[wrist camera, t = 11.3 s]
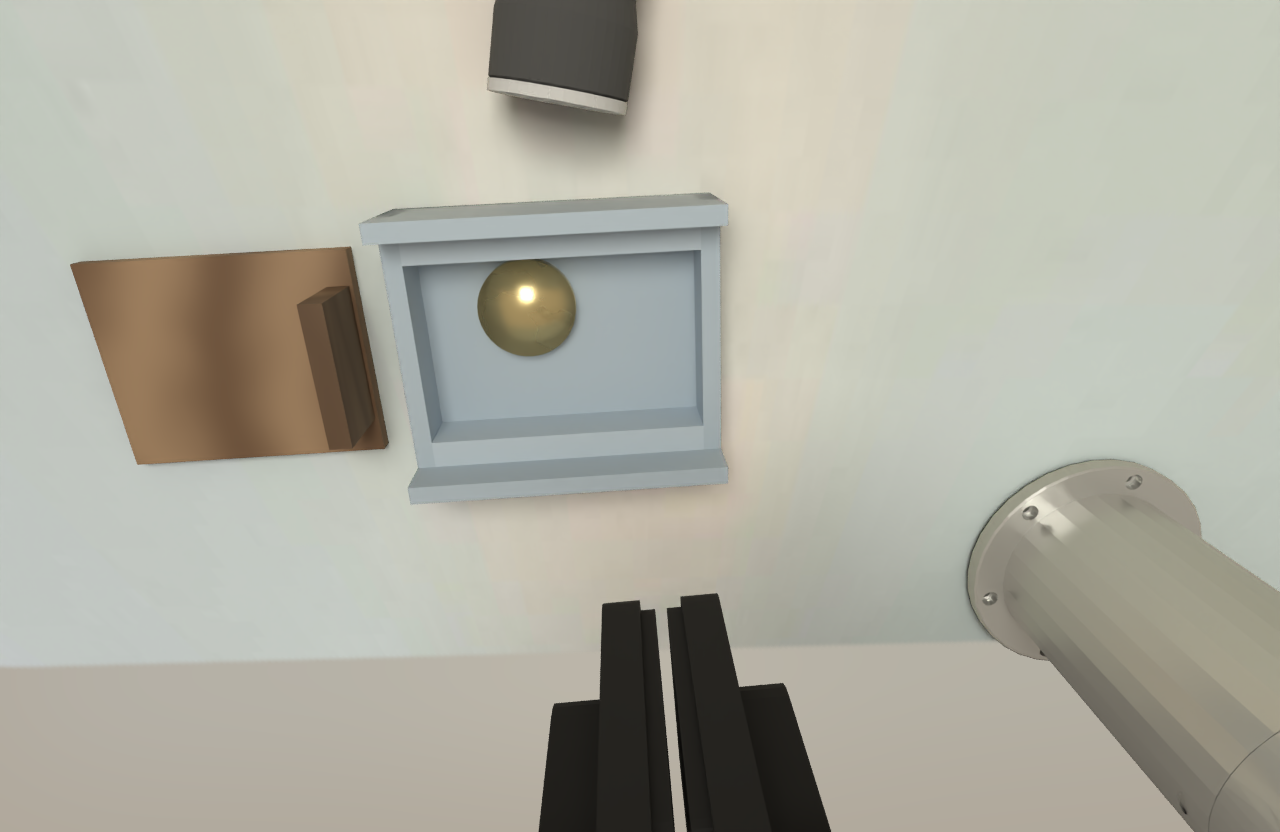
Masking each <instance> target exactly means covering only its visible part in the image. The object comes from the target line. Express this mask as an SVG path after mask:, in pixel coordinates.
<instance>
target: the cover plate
mask: <svg viewBox="0 0 1280 832" xmlns="http://www.w3.org/2000/svg"><path fill="white" fill-rule="evenodd" d="M70 266H71V269H72V272H73V275H74V278H75V281H76V284H77V287H78V290H79V293H80V296H81V299H82V302H83V304H84V307H85V310H86V313H87V316H88V319H89V322H90V325H91V328H92V331H93V334H94V337H95V340H96V343H97V346H98V349H99V352H100V355H101V358H102V361H103V364H104V367H105V370H106V373H107V376H108V379H109V382H110V385H111V388H112V391H113V394H114V397H115V400H116V403H117V405H118V408H119V411H120V414H121V417H122V420H123V423H124V426H125V429H126V432H127V435H128V438H129V441H130V444H131V447H132V450H133V453H134V456H135V459H136V462H137V465H139V464H154V463H170V462H185V461H201V460H216V459H232V458H247V457H263V456H279V455H294V454H310V453H325V452H341V451H356V450H372V449H385V447H386V446H387V444H388V443H389V442H388V437H387V432H386V427H385V421H384V416H383V411H382V406H381V401H380V396H379V390H378V385H377V380H376V375H375V370H374V365H373V359H372V354H371V349H370V344H369V339H368V333H367V328H366V323H365V318H364V313H363V308H362V302H361V297H360V292H359V287H358V282H357V276H356V271H355V266H354V261H353V256H352V251H351V247H337V248H319V249H301V250H283V251H265V252H247V253H229V254H211V255H192V256H174V257H156V258H138V259H120V260H102V261H84V262H78V263H74V264H70Z"/></svg>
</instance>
